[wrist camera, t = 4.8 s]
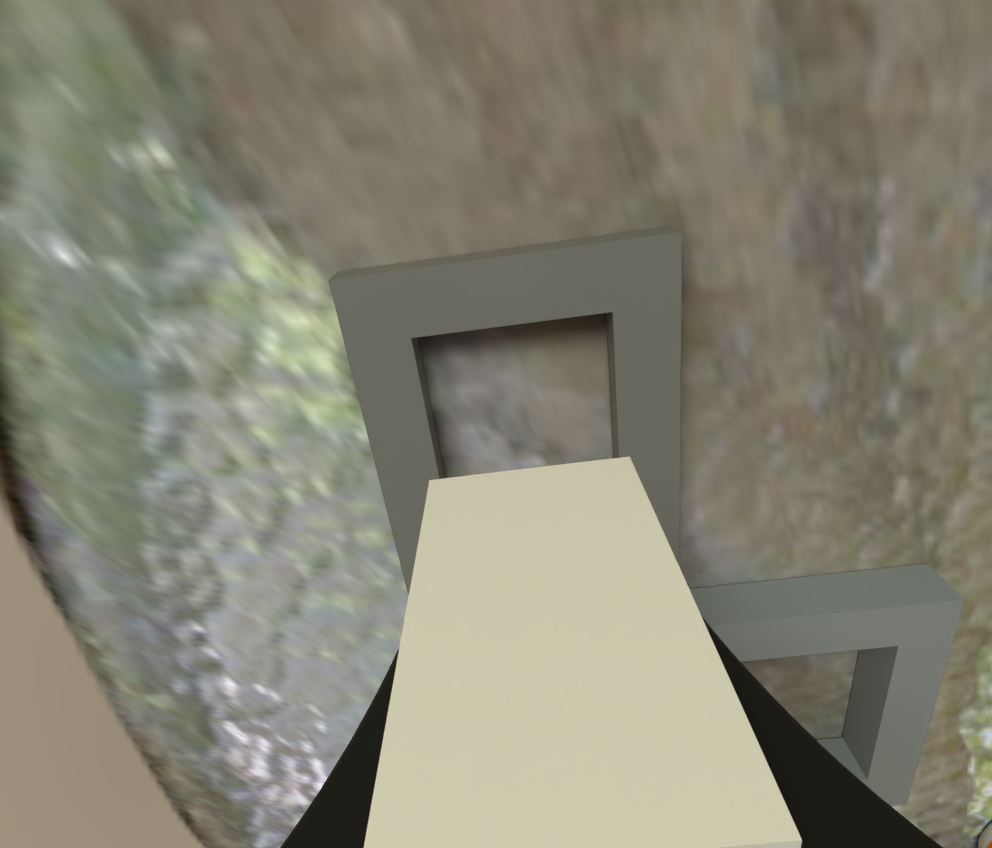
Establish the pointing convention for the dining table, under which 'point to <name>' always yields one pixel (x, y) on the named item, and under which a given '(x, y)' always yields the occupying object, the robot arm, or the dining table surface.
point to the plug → (562, 681)
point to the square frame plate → (510, 301)
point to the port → (881, 660)
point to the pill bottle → (986, 838)
